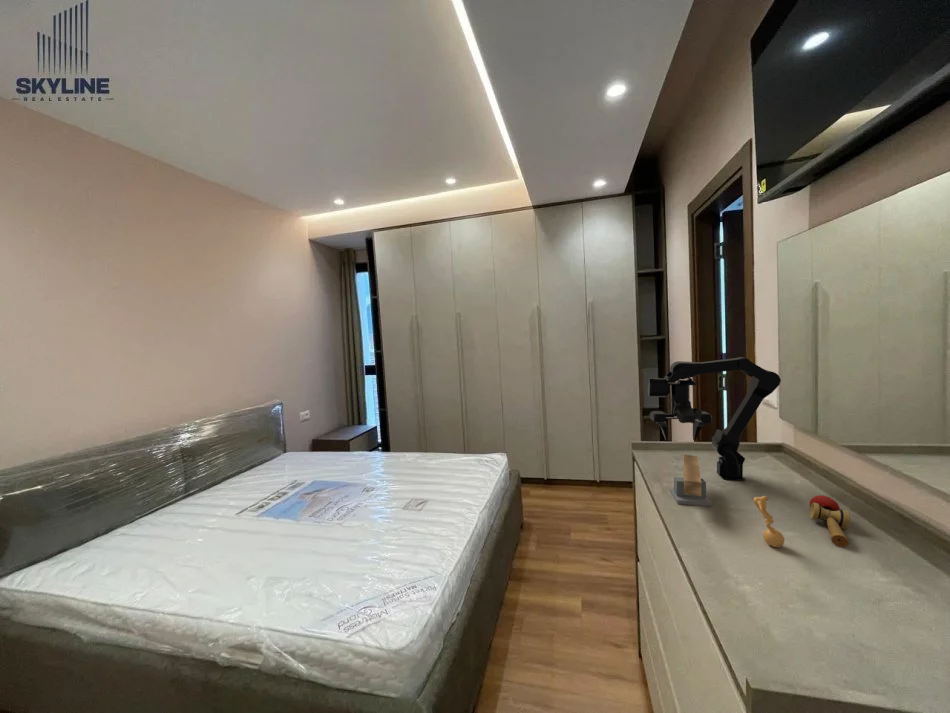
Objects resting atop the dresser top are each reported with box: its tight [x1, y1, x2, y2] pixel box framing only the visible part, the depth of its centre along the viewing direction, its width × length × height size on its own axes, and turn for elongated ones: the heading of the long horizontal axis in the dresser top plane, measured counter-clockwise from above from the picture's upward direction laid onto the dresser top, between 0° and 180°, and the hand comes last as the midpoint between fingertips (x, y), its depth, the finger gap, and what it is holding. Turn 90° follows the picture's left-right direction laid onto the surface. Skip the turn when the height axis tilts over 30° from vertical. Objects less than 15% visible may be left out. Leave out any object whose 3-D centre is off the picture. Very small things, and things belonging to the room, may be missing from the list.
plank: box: [682, 454, 702, 496], centre depth 111 cm, size 4×22×4 cm, turn 151°
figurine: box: [752, 495, 785, 548], centre depth 88 cm, size 8×6×12 cm
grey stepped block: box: [669, 476, 712, 507], centre depth 112 cm, size 9×8×6 cm
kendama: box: [809, 494, 851, 547], centre depth 94 cm, size 8×6×18 cm
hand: (680, 440), depth 130 cm, fingers open, 9 cm apart
